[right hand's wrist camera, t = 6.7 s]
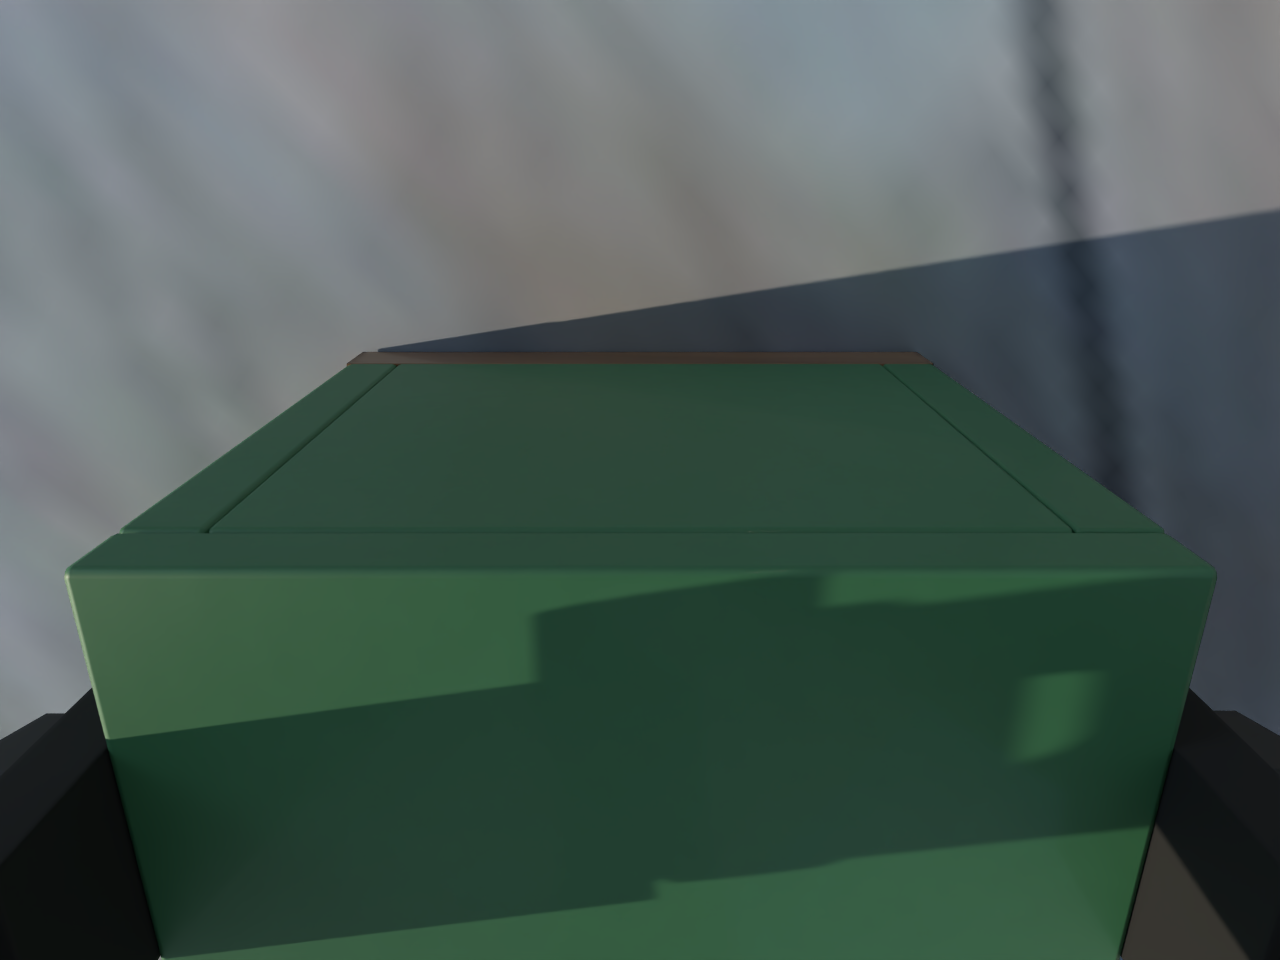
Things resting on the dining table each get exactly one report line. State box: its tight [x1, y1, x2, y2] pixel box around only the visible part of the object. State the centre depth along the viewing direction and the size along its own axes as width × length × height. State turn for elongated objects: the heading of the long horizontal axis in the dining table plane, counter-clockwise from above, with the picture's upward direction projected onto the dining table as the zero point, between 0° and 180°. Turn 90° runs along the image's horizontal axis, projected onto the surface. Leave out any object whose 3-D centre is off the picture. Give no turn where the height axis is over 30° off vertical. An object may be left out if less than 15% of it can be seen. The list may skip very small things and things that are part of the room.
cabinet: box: [64, 352, 1217, 960], centre depth 15 cm, size 18×10×9 cm, turn 0°
